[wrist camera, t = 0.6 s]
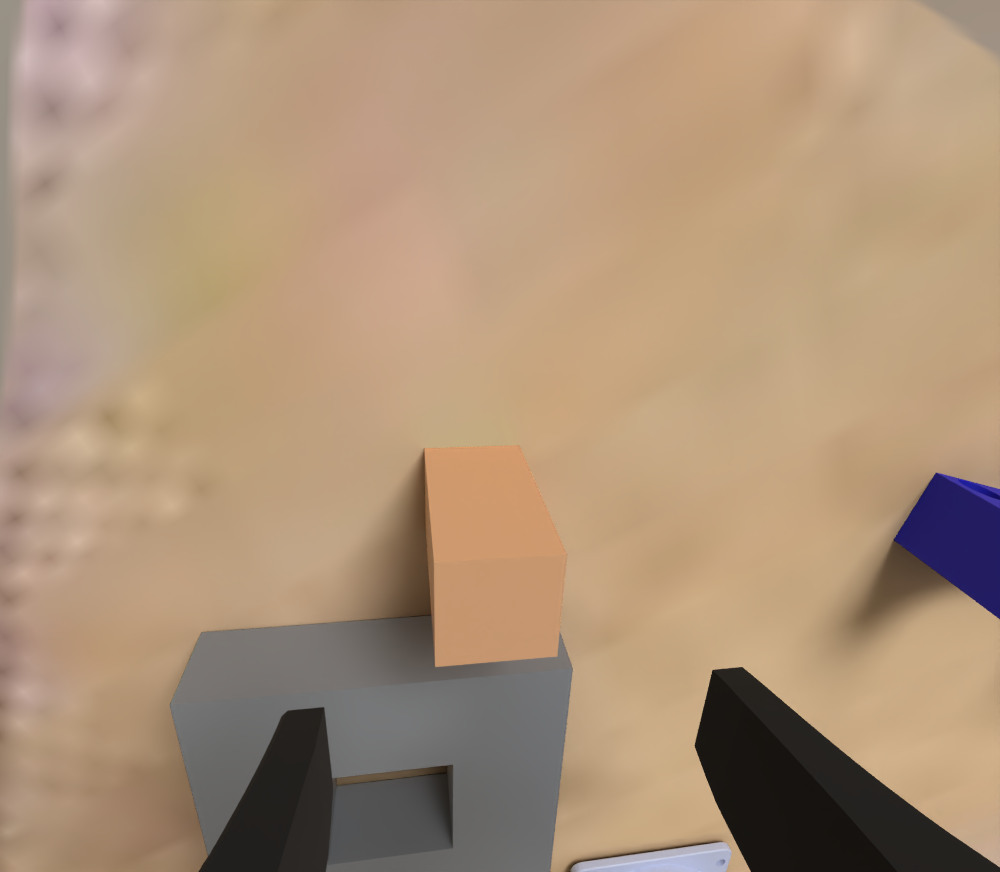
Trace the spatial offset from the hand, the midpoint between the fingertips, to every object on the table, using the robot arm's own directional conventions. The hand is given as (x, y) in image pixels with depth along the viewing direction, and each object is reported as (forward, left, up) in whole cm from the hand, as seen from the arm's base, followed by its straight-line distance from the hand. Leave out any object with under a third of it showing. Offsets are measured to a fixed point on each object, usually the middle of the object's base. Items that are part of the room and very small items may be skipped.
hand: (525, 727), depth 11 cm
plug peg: (0, 0, -9) cm, 9 cm away
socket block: (-11, +3, -9) cm, 15 cm away
